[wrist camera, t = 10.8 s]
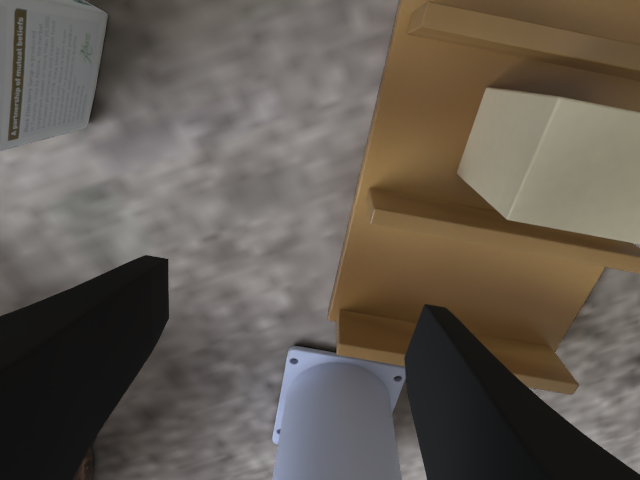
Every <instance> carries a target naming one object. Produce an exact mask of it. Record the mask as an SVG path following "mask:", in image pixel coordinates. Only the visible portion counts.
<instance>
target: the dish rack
mask: <svg viewBox="0 0 640 480" xmlns="http://www.w3.org/2000/svg"><path fill="white" fill-rule="evenodd" d="M487 87H492V88H500V89H507V90H515V91H522V92H529V93H537V94H544V95H552V96H559V97H565V98H570V99H575V100H580V101H585V102H590V103H595V104H600V105H605V106H610V107H615V108H620V109H625V110H630V111H636V112H640V0H399V4H398V8H397V13H396V17H395V22H394V26H393V30H392V35H391V39H390V43H389V48H388V52H387V56H386V61H385V65H384V69H383V74H382V78H381V83H380V87H379V91H378V96H377V100H376V104H375V109H374V113H373V117H372V122H371V126H370V130H369V135H368V139H367V144H366V148H365V152H364V157H363V161H362V165H361V170H360V174H359V178H358V183H357V187H356V191H355V196H354V200H353V205H352V209H351V213H350V218H349V222H348V226H347V231H346V235H345V239H344V244H343V248H342V252H341V257H340V261H339V266H338V270H337V274H336V279H335V283H334V287H333V292H332V296H331V300H330V305H329V309H328V320H329V321H335V322H337V324H336V354H337V355H342V356H348V357H353V358H359V359H365V360H371V361H377V362H383V363H389V364H394V365H400V366H405V361H404V357H405V354H406V352H407V349H408V346H409V344H410V341H411V338H412V336H413V333H414V330H415V328H416V325H417V322H418V320H419V317H420V314H421V312H422V309H423V306H424V304H429V305H435V306H440V307H446V308H447V309H448V310H449V311H450V312H451V313H452V314H453V315H454V316H456V317H457V318H458V319H459V320H460V321H461V322H462V323H463V324H464V326H465V327H466V328H467V329H468V330H469V331H470V332H471V333H472V334H473V335H474V336H475V337H476V338H477V339H478V340H479V341H480V342H481V343H482V344H483V345H484V346H485V347H486V348H487V349H488V350H489V351H490V352H491V353H492V354H493V355H494V356H495V357H496V358H497V359H498V360H499V361H500V362H501V363H502V364H503V365H504V366H505V367H506V368H507V369H508V370H509V371H510V372H511V373H513V374H514V375H515V376H516V377H517V378H518V379H519V380H520V381H521V382H522V383H523V384H525V385H526V386H527V387H529V388H535V389H541V390H547V391H553V392H558V393H564V394H570V395H572V394H574V392H575V391H576V389H577V388H578V386H579V384H578V383H577V381H576V380H575V379H574V377H573V376H572V375H571V373H570V372H569V371H568V369H567V368H566V367H565V365H564V364H563V363H562V362H561V360H560V359H559V358H558V356H557V355H556V354H555V351H556V349H557V348H558V346H559V344H560V343H561V341H562V339H563V338H564V336H565V334H566V333H567V331H568V329H569V328H570V326H571V324H572V323H573V321H574V319H575V318H576V316H577V314H578V312H579V311H580V309H581V307H582V306H583V304H584V302H585V301H586V299H587V297H588V296H589V294H590V292H591V291H592V289H593V287H594V286H595V284H596V282H597V281H598V279H599V277H600V276H601V274H602V272H603V271H604V269H605V267H607V268H613V269H618V270H623V271H629V272H634V273H640V248H639V247H637V246H636V245H634V244H632V243H630V242H624V241H619V240H613V239H608V238H603V237H597V236H592V235H587V234H581V233H576V232H570V231H565V230H560V229H554V228H549V227H543V226H538V225H533V224H527V223H522V222H517V221H511V220H507V219H506V218H505V217H504V216H503V215H501V214H500V213H499V212H498V211H497V210H496V209H495V208H494V207H493V206H492V205H490V204H489V203H488V202H487V201H486V200H485V199H484V198H483V197H482V196H481V195H479V194H478V193H477V192H476V191H475V190H474V189H473V188H472V187H471V186H470V185H468V184H467V183H466V182H465V181H464V180H463V179H462V178H461V177H460V176H459V175H457V170H458V167H459V164H460V162H461V159H462V156H463V153H464V150H465V147H466V144H467V141H468V138H469V136H470V133H471V130H472V127H473V124H474V121H475V118H476V115H477V113H478V110H479V107H480V104H481V101H482V98H483V95H484V92H485V89H486V88H487Z"/></svg>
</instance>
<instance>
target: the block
mask: <svg viewBox="0 0 640 480" xmlns="http://www.w3.org/2000/svg"><path fill="white" fill-rule="evenodd" d="M457 175H459V176H460V177H461V178H462V179H463V180H464V181H465V182H466V183H467V184H468V185H470V186H471V187H472V188H473V189H474V190H475V191H476V192H477V193H478V194H479V195H481V196H482V197H483V198H484V199H485V200H486V201H487V202H488V203H489V204H490V205H492V206H493V207H494V208H495V209H496V210H497V211H498V212H499V213H500V214H501V215H503V216H504V217H505V218H506V219H507V220H511V221H517V222H522V223H527V224H533V225H538V226H543V227H549V228H554V229H560V230H565V231H570V232H576V233H581V234H587V235H592V236H597V237H603V238H608V239H613V240H619V241H624V242H630V243H635V244H640V112H636V111H630V110H625V109H620V108H615V107H610V106H605V105H600V104H595V103H590V102H585V101H580V100H575V99H570V98H565V97H559V96H552V95H544V94H537V93H529V92H522V91H515V90H507V89H500V88H492V87H487V88H486V89H485V92H484V95H483V98H482V101H481V104H480V107H479V110H478V113H477V115H476V118H475V121H474V124H473V127H472V130H471V133H470V136H469V138H468V141H467V144H466V147H465V150H464V153H463V156H462V159H461V162H460V164H459V167H458V170H457Z"/></svg>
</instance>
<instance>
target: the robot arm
mask: <svg viewBox="0 0 640 480" xmlns="http://www.w3.org/2000/svg"><path fill="white" fill-rule="evenodd" d="M168 319H169V292H168V259H165V258H159V257H153V256H148V255H145V256H142V257H140V258H137V259H135V260H133V261H130V262H128V263H126V264H124V265H121V266H119V267H117V268H115V269H113V270H111V271H108V272H106V273H104V274H102V275H100V276H97V277H95V278H93V279H91V280H89V281H86V282H84V283H82V284H80V285H78V286H75V287H73V288H71V289H68V290H66V291H63V292H61V293H59V294H56V295H54V296H51V297H49V298H46V299H44V300H42V301H39V302H37V303H34V304H32V305H29V306H27V307H24V308H22V309H19V310H16V311H14V312H11V313H8V314H5V315H2V316H0V480H73V478H74V476H75V474H76V472H77V471H78V469H79V467H80V465H81V463H82V461H83V460H84V458H85V456H86V454H87V452H88V450H89V448H90V447H91V445H92V443H93V441H94V440H95V438H96V436H97V435H98V433H99V431H100V430H101V428H102V427H103V425H104V423H105V422H106V420H107V419H108V417H109V416H110V414H111V413H112V411H113V410H114V408H115V407H116V405H117V404H118V402H119V401H120V399H121V398H122V396H123V395H124V393H125V392H126V390H127V389H128V387H129V386H130V385H131V383H132V382H133V380H134V379H135V377H136V376H137V374H138V373H139V371H140V369H141V368H142V366H143V365H144V363H145V362H146V360H147V359H148V357H149V356H150V354H151V353H152V351H153V349H154V348H155V346H156V344H157V342H158V340H159V338H160V336H161V334H162V331H163V329H164V327H165V325H166V323H167V321H168ZM292 358H295V359H297V360H293V359H292ZM404 361H405V366H400V365H394V364H389V363H383V362H377V361H371V360H365V359H359V358H353V357H348V356H342V355H337V354H336V353H335V352H329V351H323V350H317V349H311V348H305V347H300V346H292V347H290V348H289V350H288V355H287V360H286V366H285V371H284V377H283V382H282V388H281V393H280V399H279V404H278V410H277V415H276V421H275V426H274V432H273V437H272V441H273V442H274V443H275V444H278V449H277V455H276V461H275V467H274V473H273V480H402V477H401V470H400V464H399V457H398V451H397V444H396V438H395V431H394V424H393V418H392V413H393V410H394V408H395V405H396V402H397V400H398V397H399V395H400V392H401V389H402V387H403V384H404V381H405V379H406V383H407V392H408V397H409V402H410V406H411V411H412V415H413V420H414V424H415V428H416V432H417V437H418V441H419V445H420V450H421V454H422V458H423V463H424V467H425V471H426V476H427V480H640V474H638V473H637V472H635V471H634V470H632V469H631V468H630V467H628V466H627V465H625V464H624V463H623V462H621V461H620V460H618V459H617V458H616V457H614V456H613V455H611V454H610V453H609V452H607V451H606V450H604V449H603V448H602V447H600V446H599V445H598V444H596V443H595V442H594V441H592V440H591V439H590V438H588V437H587V436H586V435H584V434H583V433H582V432H580V431H579V430H578V429H577V428H575V427H574V426H573V425H572V424H570V423H569V422H568V421H567V420H565V419H564V418H563V417H562V416H561V415H559V414H558V413H557V412H556V411H554V410H553V409H552V408H551V407H549V406H548V405H547V404H546V403H545V402H544V401H542V400H541V399H540V398H539V397H538V396H537V395H536V394H534V393H533V392H532V391H531V390H530V389H529V388H528V387H527V386H526V385H525V384H523V383H522V382H521V381H520V380H519V379H518V378H517V377H516V376H515V375H514V374H513V373H511V372H510V371H509V370H508V369H507V368H506V367H505V366H504V365H503V364H502V363H501V362H500V361H499V360H498V359H497V358H496V357H495V356H494V355H493V354H492V353H491V352H490V351H489V350H488V349H487V348H486V347H485V346H484V345H483V344H482V343H481V342H480V341H479V340H478V339H477V338H476V337H475V336H474V335H473V334H472V333H471V332H470V331H469V330H468V329H467V328H466V327H465V326H464V324H463V323H462V322H461V321H460V320H459V319H458V318H457V317H456V316H454V315H453V314H452V313H451V312H450V311H449V310H448V309H447V308H446V307H440V306H435V305H429V304H424V306H423V309H422V312H421V314H420V317H419V320H418V322H417V325H416V328H415V330H414V333H413V336H412V338H411V341H410V344H409V346H408V349H407V352H406V354H405V357H404ZM396 376H400V377H396Z"/></svg>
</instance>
